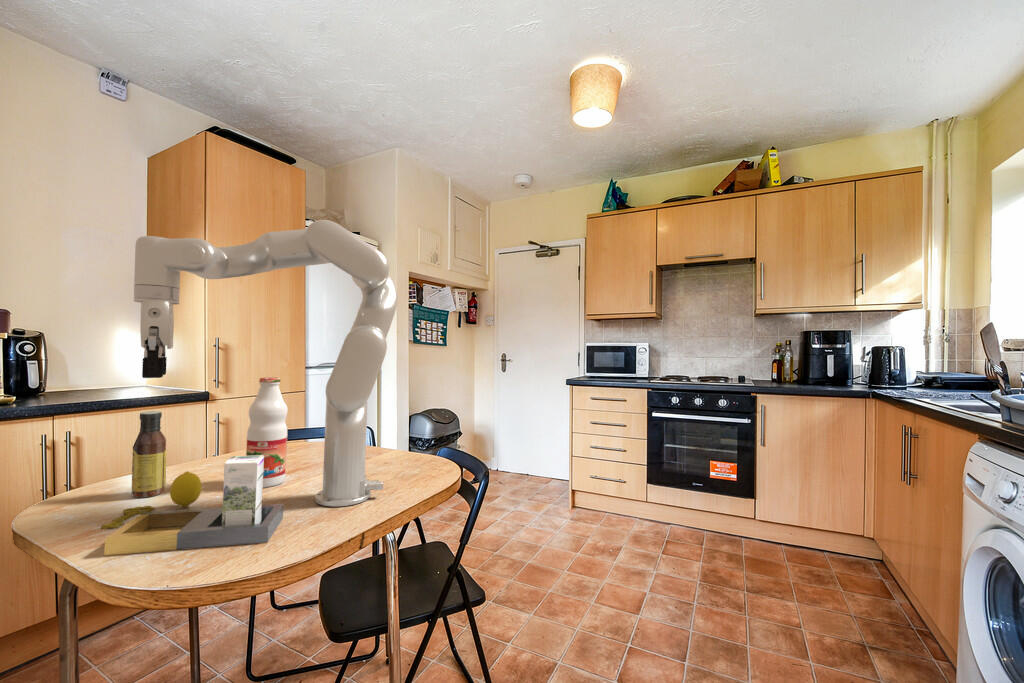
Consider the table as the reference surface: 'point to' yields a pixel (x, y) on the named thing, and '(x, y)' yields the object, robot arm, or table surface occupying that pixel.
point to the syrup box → (242, 490)
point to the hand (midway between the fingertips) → (154, 376)
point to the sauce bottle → (149, 457)
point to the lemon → (185, 489)
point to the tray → (189, 531)
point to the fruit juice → (269, 431)
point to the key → (127, 516)
